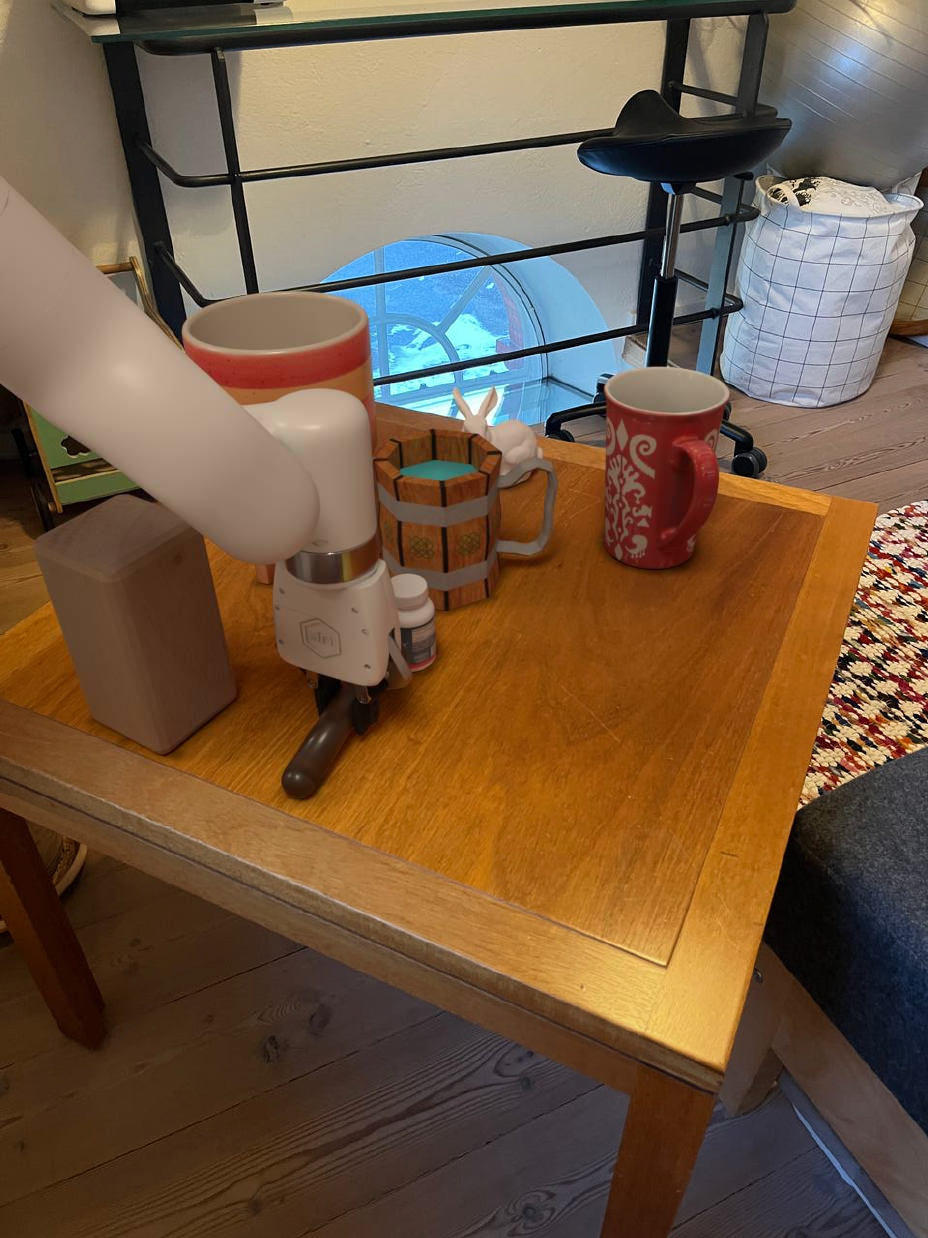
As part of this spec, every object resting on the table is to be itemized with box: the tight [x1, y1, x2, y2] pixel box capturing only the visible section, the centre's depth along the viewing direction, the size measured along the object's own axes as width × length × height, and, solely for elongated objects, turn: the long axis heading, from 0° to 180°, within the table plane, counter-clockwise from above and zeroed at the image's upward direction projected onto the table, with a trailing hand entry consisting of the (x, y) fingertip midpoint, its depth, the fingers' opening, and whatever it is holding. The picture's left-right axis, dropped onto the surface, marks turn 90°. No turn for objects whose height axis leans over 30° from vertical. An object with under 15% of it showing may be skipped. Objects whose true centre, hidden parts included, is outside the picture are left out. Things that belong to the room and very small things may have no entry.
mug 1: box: [373, 428, 559, 612], centre depth 100 cm, size 20×14×15 cm
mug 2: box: [603, 366, 731, 570], centre depth 100 cm, size 18×13×20 cm
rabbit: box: [452, 384, 544, 485], centre depth 120 cm, size 12×9×12 cm
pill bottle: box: [391, 574, 437, 673], centre depth 90 cm, size 5×5×9 cm
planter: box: [181, 290, 383, 585], centre depth 102 cm, size 20×20×27 cm
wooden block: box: [32, 493, 238, 755], centre depth 80 cm, size 10×10×20 cm
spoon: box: [280, 643, 409, 799], centre depth 82 cm, size 19×5×3 cm, turn 156°
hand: (348, 718), depth 83 cm, fingers closed on spoon, 3 cm apart
